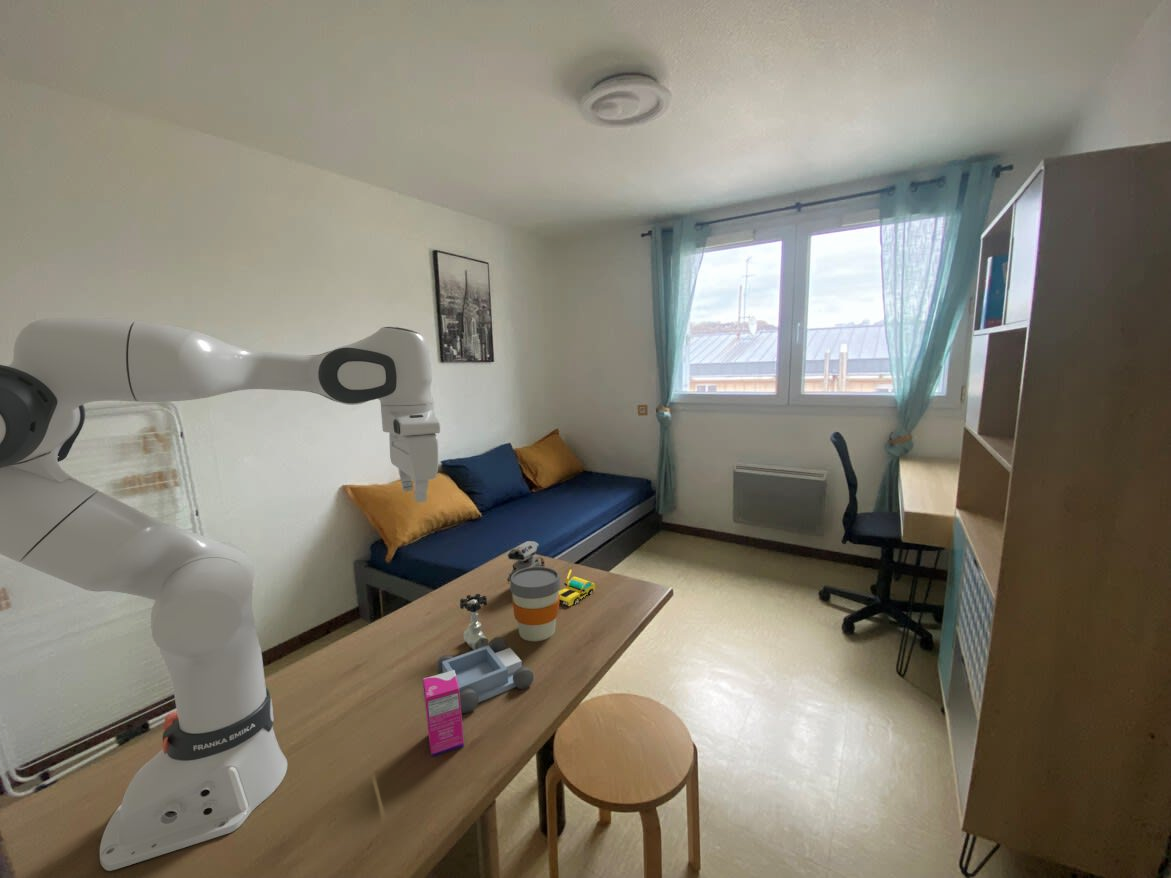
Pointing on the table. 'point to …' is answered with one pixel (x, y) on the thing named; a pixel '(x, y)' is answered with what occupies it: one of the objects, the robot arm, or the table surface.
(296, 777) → the table surface
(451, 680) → the supplement box
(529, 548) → the figurine
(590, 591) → the toy car
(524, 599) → the reusable coffee cup
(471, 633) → the valve
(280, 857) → the table surface
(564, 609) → the table surface
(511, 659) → the chassis
